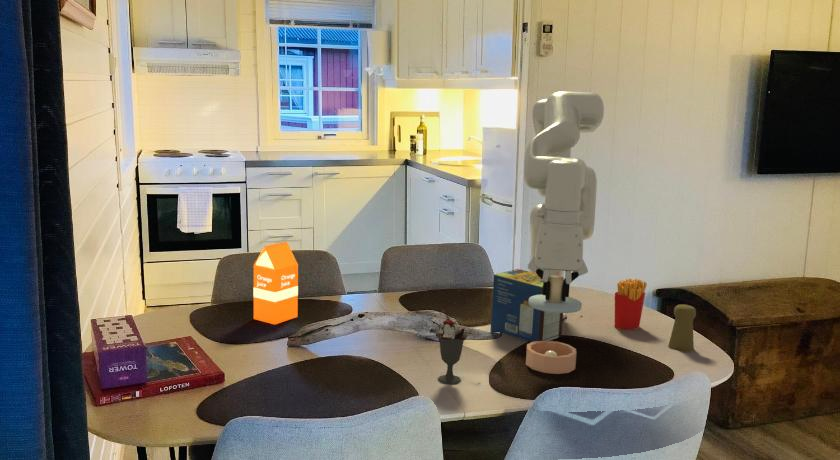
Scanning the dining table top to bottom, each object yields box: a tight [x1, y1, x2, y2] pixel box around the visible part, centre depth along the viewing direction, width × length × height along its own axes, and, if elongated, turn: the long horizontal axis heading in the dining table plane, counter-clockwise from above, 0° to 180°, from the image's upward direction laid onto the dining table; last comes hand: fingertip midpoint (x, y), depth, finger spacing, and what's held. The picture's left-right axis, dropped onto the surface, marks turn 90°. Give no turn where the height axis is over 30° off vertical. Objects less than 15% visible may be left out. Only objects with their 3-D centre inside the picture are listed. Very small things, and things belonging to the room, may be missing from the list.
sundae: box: [435, 310, 468, 385], centre depth 152 cm, size 7×7×15 cm
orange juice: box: [252, 241, 299, 326], centre depth 189 cm, size 8×9×20 cm
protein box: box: [490, 268, 564, 343], centre depth 183 cm, size 10×15×16 cm
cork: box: [668, 304, 697, 353], centre depth 179 cm, size 6×6×11 cm
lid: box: [528, 276, 583, 314], centre depth 159 cm, size 12×12×6 cm
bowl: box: [525, 340, 577, 375], centre depth 162 cm, size 11×11×4 cm
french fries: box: [614, 278, 648, 331], centre depth 194 cm, size 9×4×13 cm, turn 115°
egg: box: [544, 350, 558, 356], centre depth 162 cm, size 3×3×3 cm
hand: (555, 298), depth 160 cm, fingers closed on lid, 3 cm apart
